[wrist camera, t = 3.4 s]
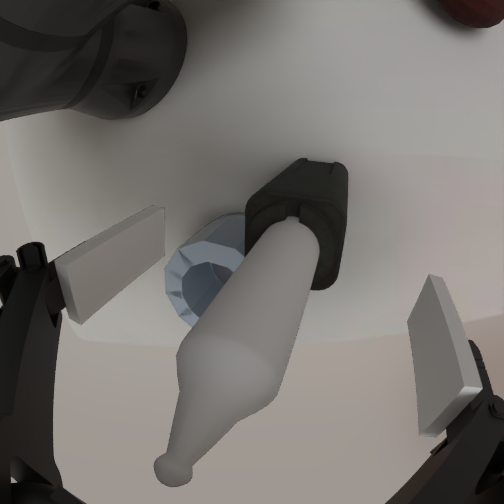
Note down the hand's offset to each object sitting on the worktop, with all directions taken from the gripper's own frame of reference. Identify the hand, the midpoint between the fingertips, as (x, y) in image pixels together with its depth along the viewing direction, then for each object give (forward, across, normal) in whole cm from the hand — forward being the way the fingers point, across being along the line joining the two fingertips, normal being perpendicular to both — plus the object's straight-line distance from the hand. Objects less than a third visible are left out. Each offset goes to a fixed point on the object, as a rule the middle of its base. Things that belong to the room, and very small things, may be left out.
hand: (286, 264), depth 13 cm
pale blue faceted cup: (+14, -6, -9) cm, 18 cm away
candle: (+15, 0, 0) cm, 15 cm away
